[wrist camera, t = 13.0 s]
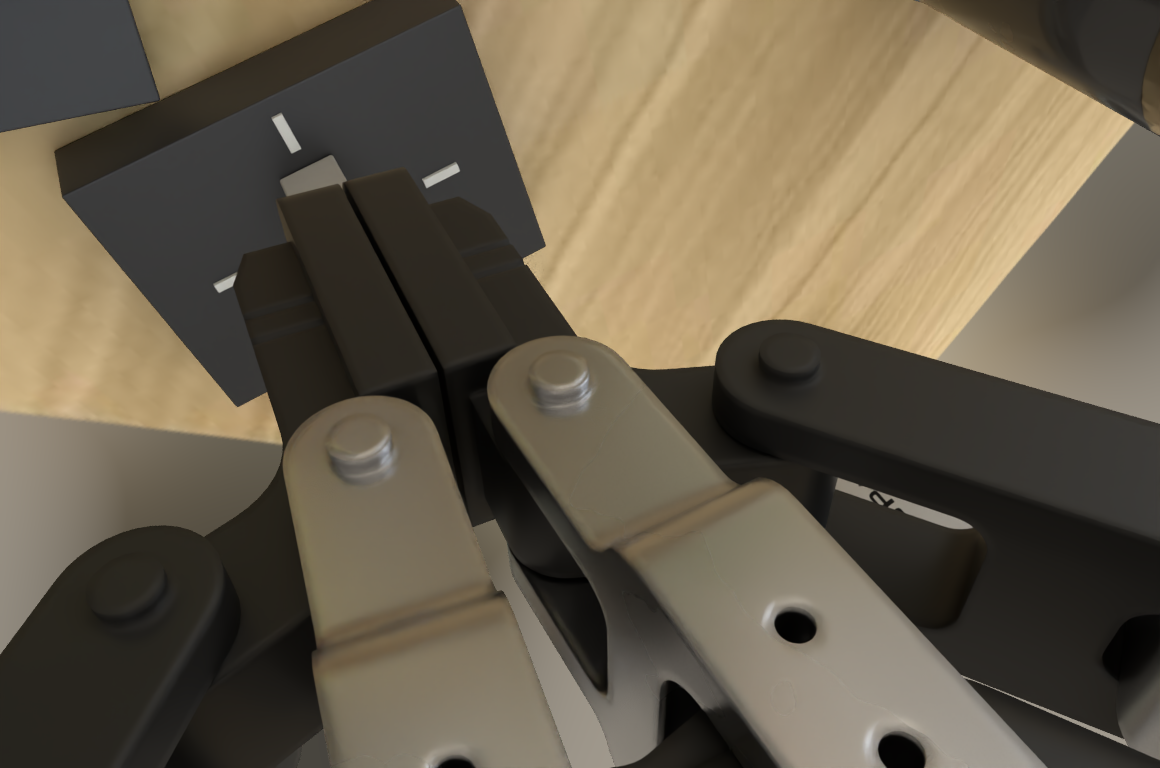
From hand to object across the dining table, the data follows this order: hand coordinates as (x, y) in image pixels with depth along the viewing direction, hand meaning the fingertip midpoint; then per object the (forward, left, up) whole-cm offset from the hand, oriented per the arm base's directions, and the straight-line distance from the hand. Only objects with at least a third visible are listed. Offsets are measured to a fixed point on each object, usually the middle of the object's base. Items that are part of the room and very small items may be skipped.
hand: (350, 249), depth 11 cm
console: (-3, +13, -23) cm, 27 cm away
